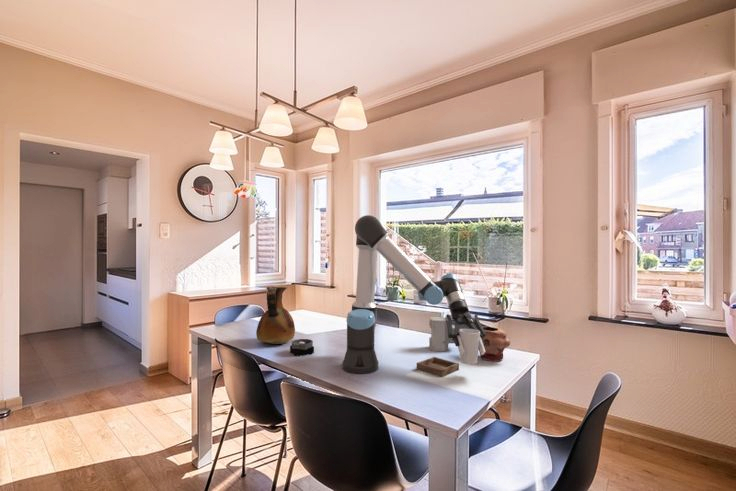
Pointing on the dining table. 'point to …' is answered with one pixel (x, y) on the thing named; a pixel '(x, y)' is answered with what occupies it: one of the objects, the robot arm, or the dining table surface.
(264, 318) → the brown vase
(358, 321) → the robot arm
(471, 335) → the cup
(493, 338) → the brown clay rounded pot
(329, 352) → the dining table surface
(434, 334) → the circuit breaker
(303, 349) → the cpu cooler
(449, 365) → the wooden tray
